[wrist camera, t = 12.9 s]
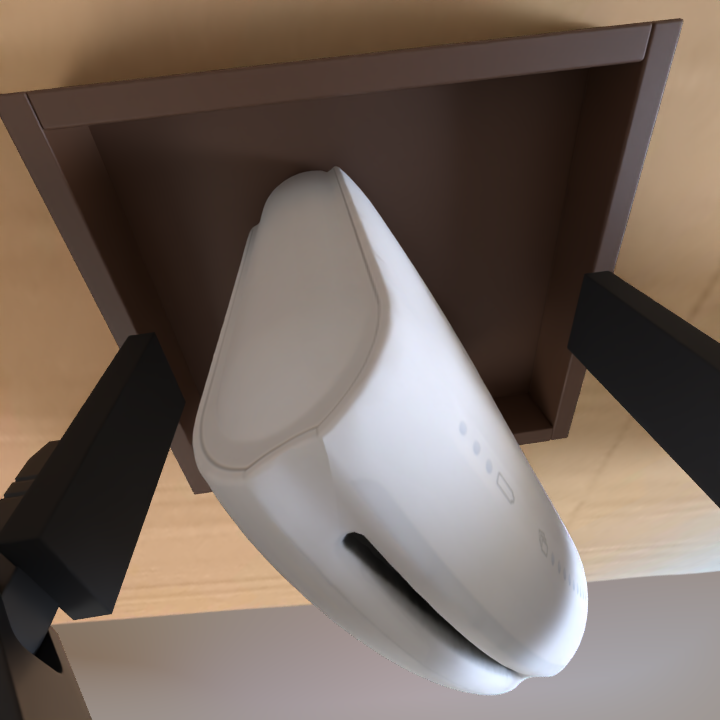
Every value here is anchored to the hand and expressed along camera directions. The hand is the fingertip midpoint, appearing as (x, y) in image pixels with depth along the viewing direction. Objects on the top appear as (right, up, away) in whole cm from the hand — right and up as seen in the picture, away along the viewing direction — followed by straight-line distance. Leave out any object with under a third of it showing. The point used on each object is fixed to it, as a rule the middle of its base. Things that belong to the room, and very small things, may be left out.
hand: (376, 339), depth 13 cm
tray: (0, +2, +3) cm, 4 cm away
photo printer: (0, +2, +3) cm, 4 cm away
